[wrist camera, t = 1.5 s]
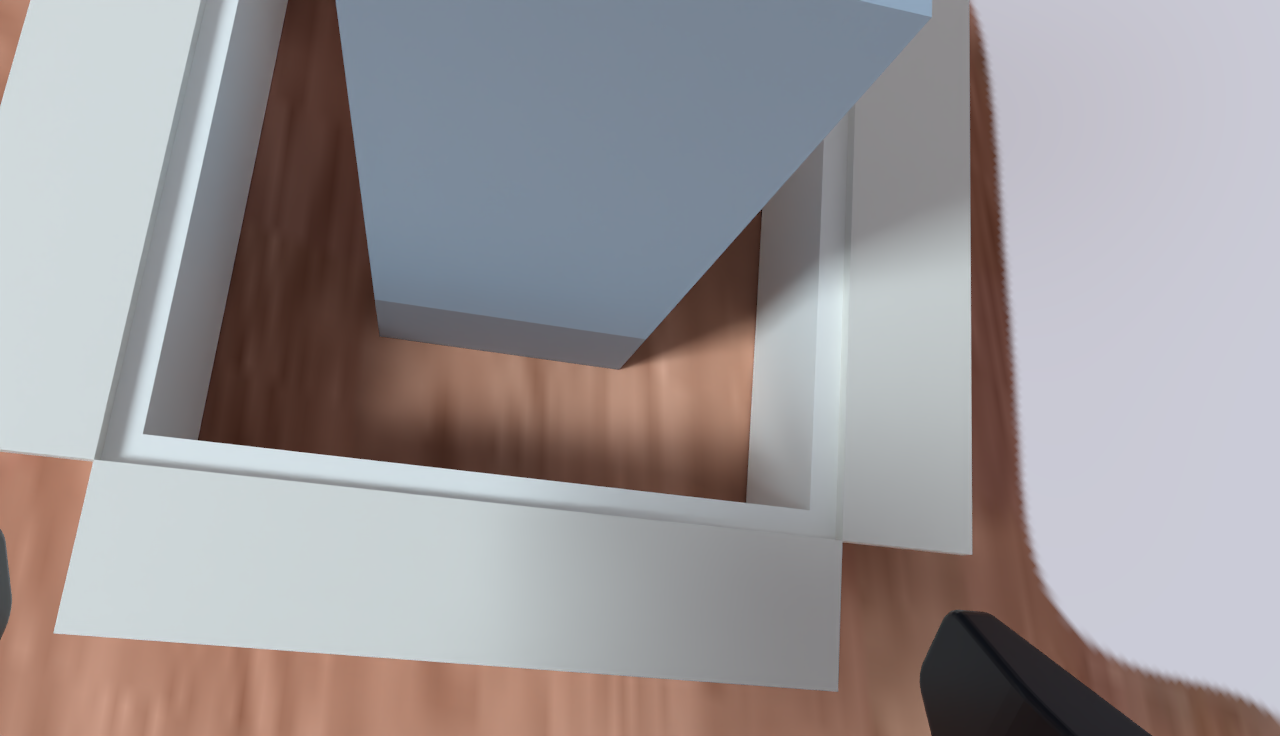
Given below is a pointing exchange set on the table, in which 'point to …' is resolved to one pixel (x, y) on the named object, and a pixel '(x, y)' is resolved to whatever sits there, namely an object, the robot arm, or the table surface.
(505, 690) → the table surface
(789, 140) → the box
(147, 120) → the carton
